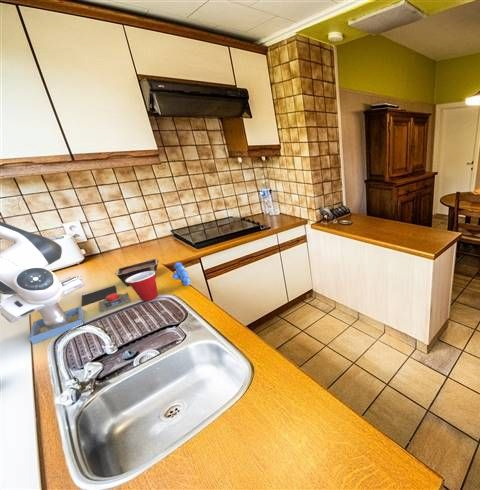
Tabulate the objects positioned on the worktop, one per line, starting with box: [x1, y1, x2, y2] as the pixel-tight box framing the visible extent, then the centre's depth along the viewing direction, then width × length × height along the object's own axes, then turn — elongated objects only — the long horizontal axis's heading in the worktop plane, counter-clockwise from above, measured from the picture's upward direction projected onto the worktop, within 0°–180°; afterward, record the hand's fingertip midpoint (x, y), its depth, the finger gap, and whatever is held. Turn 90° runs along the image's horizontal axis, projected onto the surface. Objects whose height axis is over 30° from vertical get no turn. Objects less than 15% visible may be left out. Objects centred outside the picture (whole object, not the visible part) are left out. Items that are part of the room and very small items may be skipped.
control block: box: [98, 292, 131, 314], centre depth 119 cm, size 10×9×3 cm
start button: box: [106, 293, 118, 301], centre depth 118 cm, size 4×4×2 cm
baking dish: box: [114, 258, 159, 287], centre depth 139 cm, size 14×18×10 cm
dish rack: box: [28, 305, 85, 345], centre depth 106 cm, size 14×14×3 cm
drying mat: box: [81, 284, 118, 307], centre depth 126 cm, size 12×12×1 cm
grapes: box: [171, 261, 191, 287], centre depth 129 cm, size 12×7×12 cm, turn 50°
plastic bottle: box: [36, 301, 71, 330], centre depth 102 cm, size 6×7×20 cm
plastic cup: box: [125, 271, 159, 302], centre depth 120 cm, size 11×11×12 cm
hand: (49, 303), depth 98 cm, fingers closed
